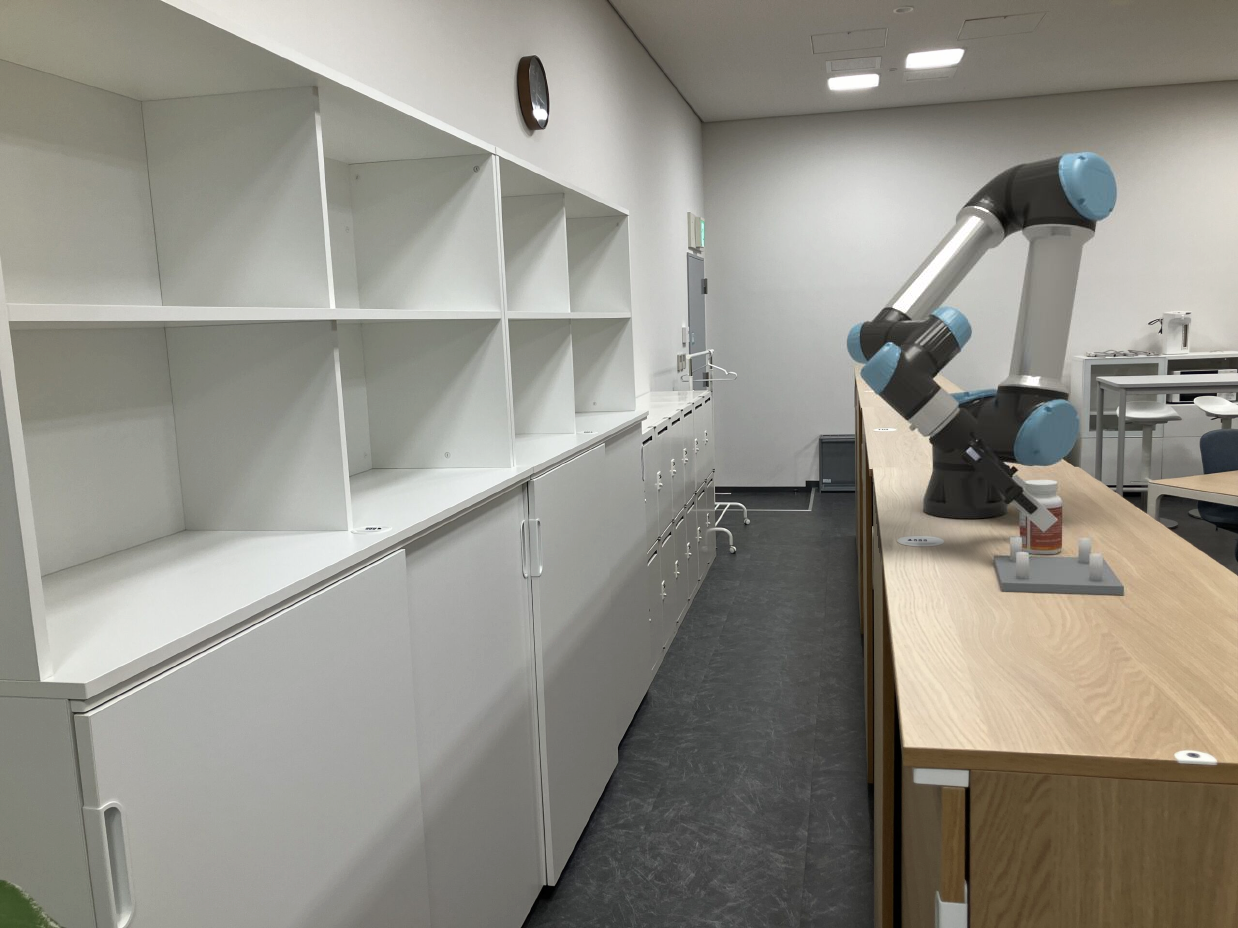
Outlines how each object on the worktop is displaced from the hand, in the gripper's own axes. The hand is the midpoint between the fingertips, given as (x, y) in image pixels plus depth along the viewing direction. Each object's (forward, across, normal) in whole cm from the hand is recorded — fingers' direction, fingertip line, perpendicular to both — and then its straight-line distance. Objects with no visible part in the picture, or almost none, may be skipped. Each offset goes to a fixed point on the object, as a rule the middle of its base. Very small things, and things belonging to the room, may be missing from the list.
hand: (1045, 516), depth 146 cm
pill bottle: (+4, 0, -5) cm, 6 cm away
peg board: (+4, +16, -4) cm, 16 cm away
